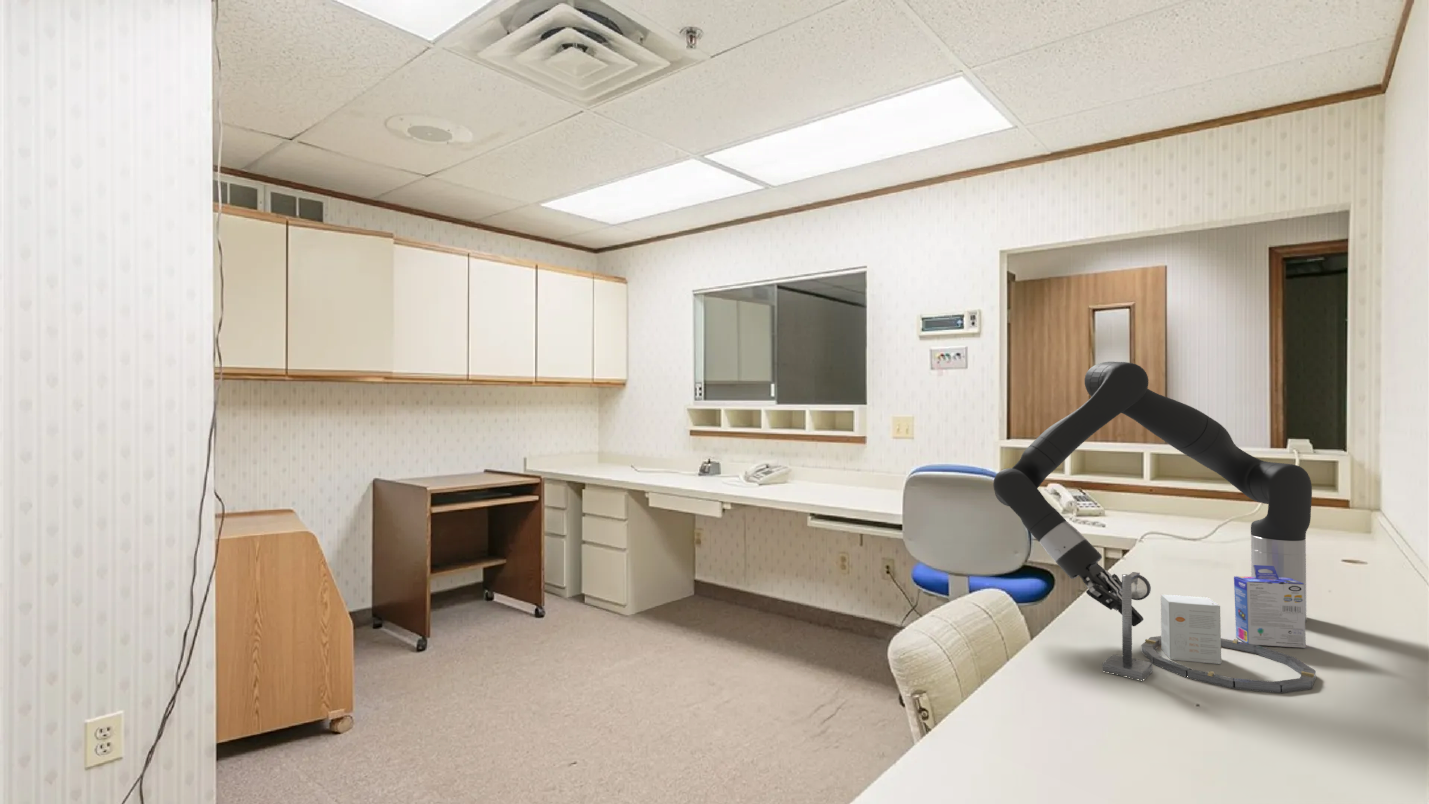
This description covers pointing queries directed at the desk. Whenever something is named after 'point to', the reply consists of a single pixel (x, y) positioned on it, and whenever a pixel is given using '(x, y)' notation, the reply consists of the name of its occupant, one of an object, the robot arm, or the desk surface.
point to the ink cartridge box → (1270, 609)
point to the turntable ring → (1244, 684)
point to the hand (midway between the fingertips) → (1138, 623)
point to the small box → (1191, 628)
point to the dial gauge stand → (1129, 630)
